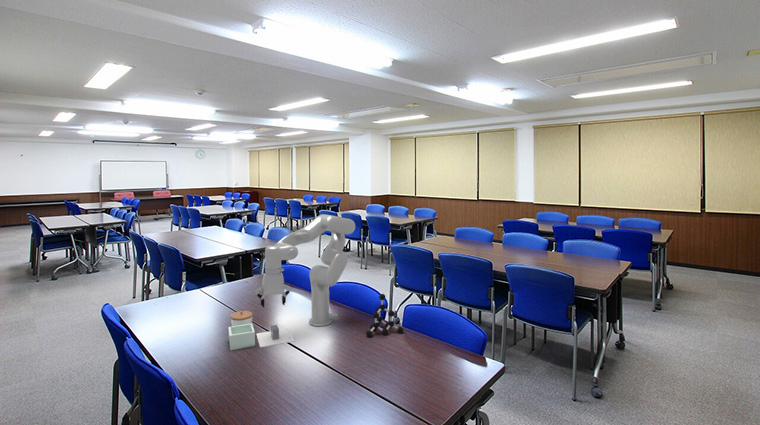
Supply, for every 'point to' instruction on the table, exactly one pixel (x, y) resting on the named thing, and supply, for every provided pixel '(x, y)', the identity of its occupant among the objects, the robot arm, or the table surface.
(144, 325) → the table surface
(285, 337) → the lid
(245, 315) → the lidded jar
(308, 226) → the robot arm
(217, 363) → the table surface
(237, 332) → the pale green open bin
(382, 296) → the molecular model
